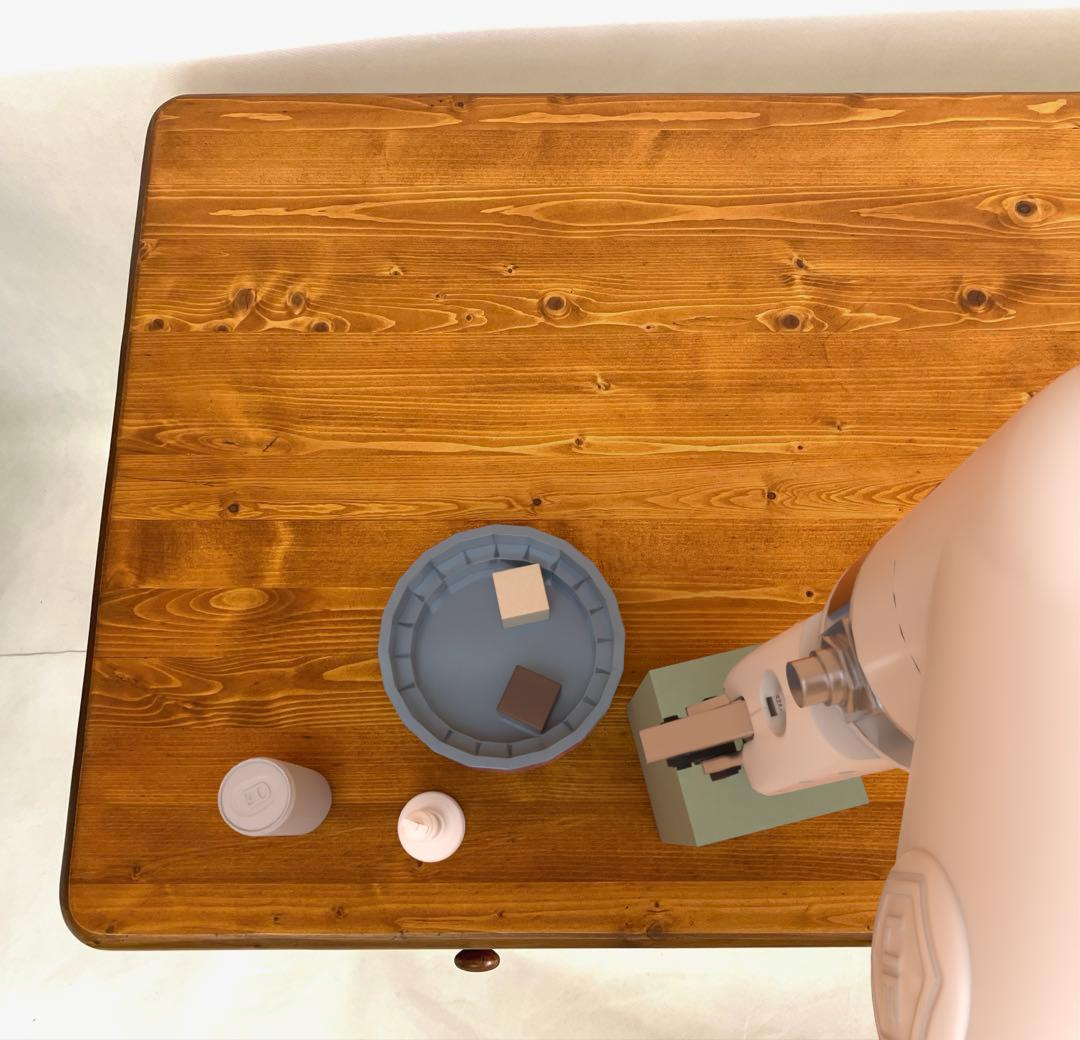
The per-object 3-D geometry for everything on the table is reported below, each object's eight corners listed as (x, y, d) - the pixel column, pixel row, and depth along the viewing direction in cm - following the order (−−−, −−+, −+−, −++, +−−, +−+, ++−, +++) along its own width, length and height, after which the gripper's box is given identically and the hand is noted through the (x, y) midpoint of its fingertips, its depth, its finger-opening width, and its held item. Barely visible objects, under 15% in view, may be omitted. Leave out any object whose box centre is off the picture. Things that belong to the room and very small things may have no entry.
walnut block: (542, 735, 73) (541, 731, 69) (498, 715, 73) (495, 710, 70) (561, 691, 74) (562, 684, 70) (518, 671, 74) (516, 664, 71)
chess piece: (451, 871, 70) (436, 878, 61) (387, 848, 71) (362, 851, 61) (474, 804, 72) (463, 800, 62) (412, 782, 72) (391, 774, 63)
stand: (793, 809, 72) (870, 802, 54) (661, 842, 71) (697, 846, 54) (752, 676, 75) (813, 630, 57) (625, 707, 74) (648, 670, 57)
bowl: (645, 741, 73) (653, 734, 68) (415, 798, 72) (404, 796, 67) (587, 523, 78) (590, 501, 73) (371, 573, 77) (358, 554, 72)
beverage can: (258, 786, 72) (203, 778, 61) (318, 755, 73) (275, 742, 62) (283, 847, 71) (232, 850, 60) (344, 815, 72) (305, 813, 60)
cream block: (549, 619, 75) (549, 608, 72) (503, 628, 75) (501, 619, 72) (539, 574, 76) (539, 562, 73) (494, 584, 76) (491, 573, 73)
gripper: (710, 854, 26) (648, 851, 42) (1304, 702, 27) (1022, 756, 44) (636, 590, 28) (604, 682, 45) (1187, 460, 30) (961, 596, 46)
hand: (811, 718), depth 44 cm, fingers open, 9 cm apart
